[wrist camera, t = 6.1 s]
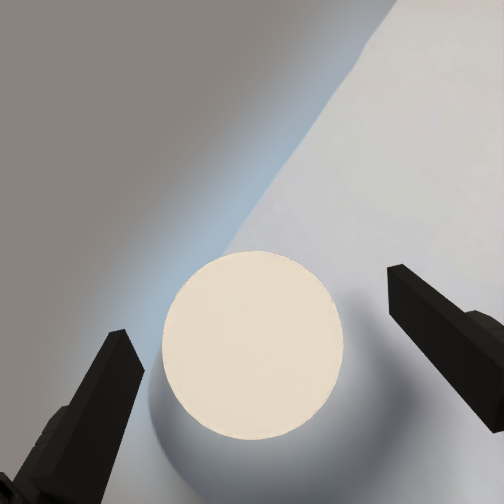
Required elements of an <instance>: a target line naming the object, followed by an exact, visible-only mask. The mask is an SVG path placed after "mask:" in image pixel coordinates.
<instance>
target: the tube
mask: <svg viewBox="0 0 504 504" xmlns="http://www.w3.org/2000/svg"><path fill="white" fill-rule="evenodd" d="M162 353H163V364H164V368H165V371H166V375H167V378H168V382H169V384H170V386H171V388H172V390H173V392H174V394H175V396H176V398H177V399H178V400H179V402H180V403H181V404H182V406H183V407H184V408H185V409H186V411H187V412H188V413H189V414H190V415H191V416H193V417H194V418H195V419H196V420H197V421H199V422H200V423H201V424H202V425H203V426H205V427H207V428H209V429H211V430H213V431H215V432H217V433H219V434H221V435H225V436H229V437H233V438H237V439H241V440H263V439H267V438H271V437H276V436H280V435H283V434H285V433H287V432H289V431H291V430H293V429H295V428H298V427H299V426H300V425H302V424H303V423H304V422H306V421H307V420H308V419H309V418H311V417H312V416H313V415H314V414H315V413H316V412H317V411H318V409H319V408H320V407H321V406H322V405H323V404H324V403H325V401H326V400H327V398H328V396H329V394H330V392H331V391H332V389H333V387H334V385H335V383H336V380H337V377H338V374H339V370H340V367H341V364H342V353H343V336H342V327H341V322H340V319H339V316H338V312H337V309H336V306H335V304H334V303H333V301H332V299H331V297H330V295H329V293H328V292H327V290H326V289H325V288H324V286H323V285H322V284H321V283H320V281H319V280H318V279H317V278H316V277H315V276H314V275H313V274H311V273H310V272H309V271H308V270H307V269H306V268H304V267H303V266H301V265H299V264H298V263H296V262H294V261H293V260H291V259H288V258H286V257H283V256H280V255H277V254H274V253H267V252H261V251H248V252H238V253H234V254H230V255H226V256H223V257H221V258H219V259H216V260H214V261H212V262H210V263H209V264H207V265H206V266H204V267H202V268H201V269H199V270H198V271H197V272H196V273H195V274H194V275H193V276H192V277H191V278H189V280H187V282H186V283H185V284H184V286H183V287H182V288H181V289H180V291H179V292H178V294H177V295H176V297H175V299H174V301H173V303H172V305H171V307H170V309H169V311H168V315H167V318H166V322H165V325H164V330H163V340H162Z"/></svg>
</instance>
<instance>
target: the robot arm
mask: <svg viewBox="0 0 504 504" xmlns="http://www.w3.org/2000/svg"><path fill="white" fill-rule="evenodd" d="M387 276H388V299H389V314H390V315H391V316H392V318H393V319H394V320H395V321H396V322H397V323H398V325H399V326H400V327H401V328H402V329H403V330H404V331H405V333H406V334H407V335H408V336H409V337H410V338H411V340H412V341H413V342H414V343H415V344H416V345H417V346H418V348H419V349H420V350H421V351H422V352H423V353H424V355H425V356H426V357H427V358H428V359H429V360H430V361H431V363H432V364H433V365H434V366H435V367H436V368H437V370H438V371H439V372H440V373H441V374H442V375H443V376H444V378H445V379H446V380H447V381H448V382H449V383H450V385H451V386H452V387H453V388H454V389H455V390H456V391H457V393H458V394H459V395H460V396H461V397H462V398H463V400H464V401H465V402H466V403H467V404H468V405H469V406H470V408H471V409H472V410H473V411H474V412H475V413H476V415H477V416H478V417H479V418H480V419H481V420H482V421H483V423H484V424H485V425H486V426H487V427H488V428H489V430H490V431H491V432H492V433H497V432H501V431H504V326H503V325H502V324H501V323H499V322H498V321H497V320H495V319H494V318H492V317H491V316H488V315H486V314H483V313H481V312H479V311H476V310H474V311H470V312H466V313H465V312H463V311H462V310H461V309H459V308H458V307H457V306H456V305H454V304H453V303H452V302H451V301H449V300H448V299H447V298H445V297H444V296H443V295H442V294H440V293H439V292H438V291H437V290H435V289H434V288H433V287H431V286H430V285H429V284H428V283H426V282H425V281H424V280H422V279H421V278H420V277H419V276H417V275H416V274H415V273H414V272H412V271H411V270H410V269H408V268H407V267H406V266H405V265H403V264H400V265H396V266H392V267H387ZM144 371H145V370H144V368H143V366H142V364H141V362H140V360H139V358H138V356H137V353H136V351H135V349H134V347H133V345H132V343H131V341H130V339H129V337H128V335H127V333H126V331H125V329H122V330H118V331H113V332H110V333H109V334H108V336H107V338H106V340H105V341H104V343H103V345H102V347H101V349H100V350H99V352H98V354H97V356H96V357H95V359H94V361H93V363H92V365H91V367H90V368H89V370H88V372H87V374H86V375H85V377H84V379H83V381H82V382H81V384H80V386H79V388H78V390H77V391H76V393H75V395H74V397H73V398H72V400H71V402H70V404H69V405H68V406H63V407H61V408H60V409H59V410H58V411H57V412H56V413H55V414H54V416H53V417H52V418H51V419H50V420H49V422H48V423H47V425H46V427H45V428H44V430H43V432H42V435H41V436H40V437H39V438H38V440H37V442H36V443H35V447H33V448H32V450H31V452H30V453H29V455H28V457H27V458H26V460H25V462H24V463H23V465H22V467H21V469H20V470H19V472H18V474H17V475H16V477H15V478H14V480H13V482H12V481H11V480H10V479H9V478H8V477H7V476H6V475H5V474H4V473H3V472H0V504H101V501H102V498H103V495H104V492H105V489H106V486H107V483H108V480H109V477H110V474H111V471H112V468H113V465H114V462H115V459H116V456H117V453H118V450H119V447H120V444H121V441H122V438H123V434H124V432H125V428H126V426H127V422H128V419H129V416H130V413H131V410H132V407H133V404H134V401H135V398H136V395H137V392H138V389H139V386H140V383H141V380H142V377H143V374H144Z"/></svg>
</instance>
